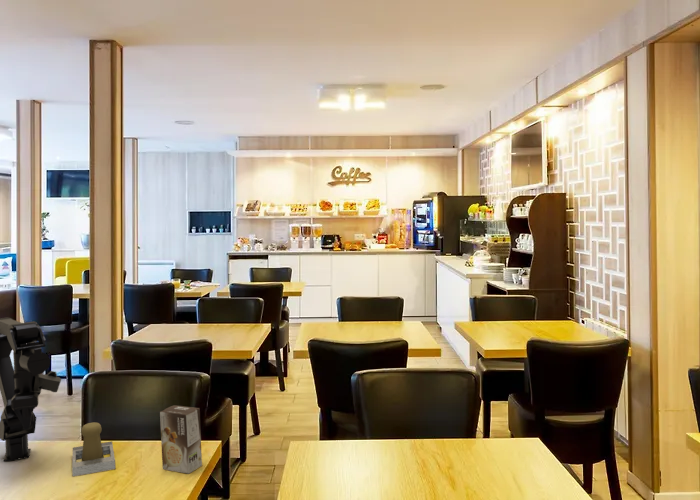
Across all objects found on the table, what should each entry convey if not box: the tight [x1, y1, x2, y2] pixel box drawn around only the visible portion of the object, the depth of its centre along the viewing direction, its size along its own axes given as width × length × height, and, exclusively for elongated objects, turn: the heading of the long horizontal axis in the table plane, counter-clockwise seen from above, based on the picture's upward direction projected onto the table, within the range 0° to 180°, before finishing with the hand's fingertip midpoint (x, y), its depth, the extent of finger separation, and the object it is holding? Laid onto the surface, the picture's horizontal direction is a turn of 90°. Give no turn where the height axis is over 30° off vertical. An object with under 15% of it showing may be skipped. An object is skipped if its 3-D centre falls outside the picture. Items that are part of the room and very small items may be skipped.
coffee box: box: [159, 404, 203, 474], centre depth 164 cm, size 9×6×16 cm
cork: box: [80, 422, 105, 462], centre depth 169 cm, size 6×6×11 cm
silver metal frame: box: [71, 441, 116, 477], centre depth 169 cm, size 16×11×2 cm
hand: (28, 423), depth 166 cm, fingers open, 9 cm apart
